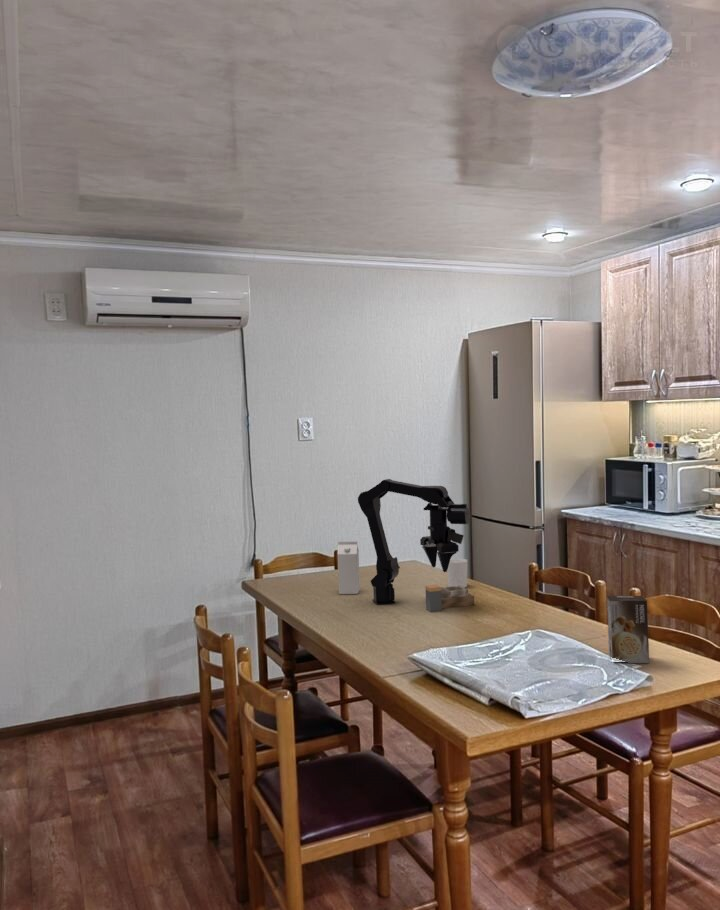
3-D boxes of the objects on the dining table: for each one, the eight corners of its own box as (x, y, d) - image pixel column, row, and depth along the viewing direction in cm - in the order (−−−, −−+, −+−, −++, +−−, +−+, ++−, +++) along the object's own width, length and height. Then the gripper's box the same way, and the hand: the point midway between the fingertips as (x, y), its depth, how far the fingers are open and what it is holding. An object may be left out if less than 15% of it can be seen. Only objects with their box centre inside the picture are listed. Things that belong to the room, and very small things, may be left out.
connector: (430, 612, 251) (429, 588, 251) (426, 609, 255) (425, 585, 254) (441, 611, 252) (441, 587, 252) (437, 608, 256) (436, 584, 255)
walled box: (441, 608, 255) (440, 593, 255) (429, 601, 266) (429, 587, 265) (474, 605, 258) (473, 590, 258) (461, 598, 269) (461, 584, 269)
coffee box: (644, 656, 198) (643, 594, 197) (649, 664, 192) (648, 600, 191) (608, 655, 200) (606, 594, 199) (611, 663, 193) (610, 600, 193)
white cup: (472, 587, 286) (471, 560, 286) (456, 590, 282) (455, 563, 282) (459, 583, 293) (458, 557, 292) (442, 586, 289) (442, 560, 288)
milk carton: (341, 590, 288) (339, 540, 287) (359, 590, 288) (358, 539, 287) (338, 594, 281) (337, 543, 280) (358, 594, 280) (356, 542, 280)
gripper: (472, 525, 251) (473, 572, 252) (448, 518, 269) (449, 562, 270) (441, 527, 248) (442, 575, 248) (419, 520, 265) (420, 565, 266)
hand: (439, 569), depth 258 cm, fingers open, 9 cm apart
